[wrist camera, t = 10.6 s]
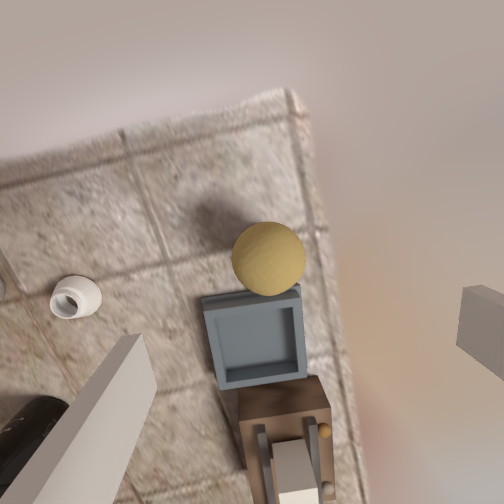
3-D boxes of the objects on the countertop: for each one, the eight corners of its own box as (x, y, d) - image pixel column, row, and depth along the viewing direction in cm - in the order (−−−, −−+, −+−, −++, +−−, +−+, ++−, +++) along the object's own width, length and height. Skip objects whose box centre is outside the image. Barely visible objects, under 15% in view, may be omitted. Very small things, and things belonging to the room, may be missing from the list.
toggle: (274, 461, 31) (281, 513, 26) (271, 443, 30) (278, 494, 25) (306, 456, 31) (319, 507, 26) (304, 438, 30) (317, 487, 25)
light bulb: (221, 239, 28) (213, 268, 18) (263, 200, 27) (277, 210, 18) (258, 277, 30) (268, 322, 20) (299, 242, 29) (330, 271, 19)
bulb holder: (217, 378, 33) (216, 394, 31) (201, 297, 30) (198, 308, 27) (305, 365, 33) (311, 380, 31) (299, 283, 30) (304, 292, 28)
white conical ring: (49, 288, 29) (79, 320, 30) (28, 300, 26) (63, 334, 27) (82, 266, 28) (112, 299, 29) (65, 275, 25) (99, 312, 27)
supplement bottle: (26, 389, 32) (-93, 507, 20) (81, 402, 33) (-3, 520, 21) (20, 429, 34) (-94, 558, 22) (72, 439, 35) (-10, 568, 23)
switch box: (253, 470, 38) (256, 522, 32) (238, 387, 34) (238, 429, 28) (323, 459, 38) (338, 508, 33) (317, 375, 34) (334, 415, 28)
